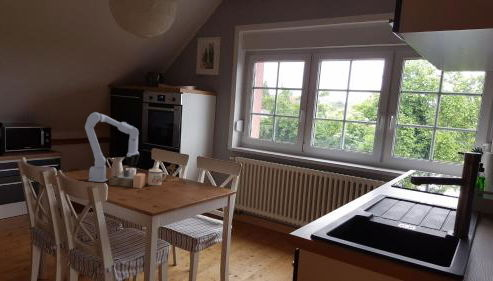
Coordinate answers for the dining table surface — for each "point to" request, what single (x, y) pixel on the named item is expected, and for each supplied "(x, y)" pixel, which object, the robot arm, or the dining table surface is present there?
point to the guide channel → (120, 181)
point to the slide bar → (126, 175)
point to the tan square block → (139, 180)
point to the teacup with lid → (155, 176)
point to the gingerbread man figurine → (172, 175)
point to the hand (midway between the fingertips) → (132, 166)
